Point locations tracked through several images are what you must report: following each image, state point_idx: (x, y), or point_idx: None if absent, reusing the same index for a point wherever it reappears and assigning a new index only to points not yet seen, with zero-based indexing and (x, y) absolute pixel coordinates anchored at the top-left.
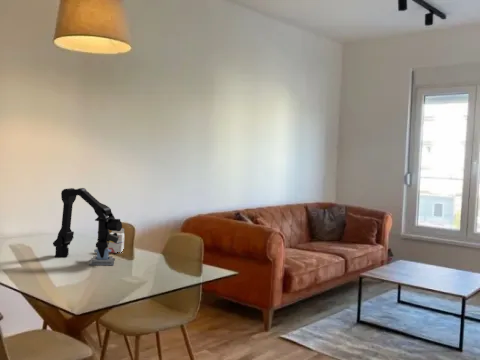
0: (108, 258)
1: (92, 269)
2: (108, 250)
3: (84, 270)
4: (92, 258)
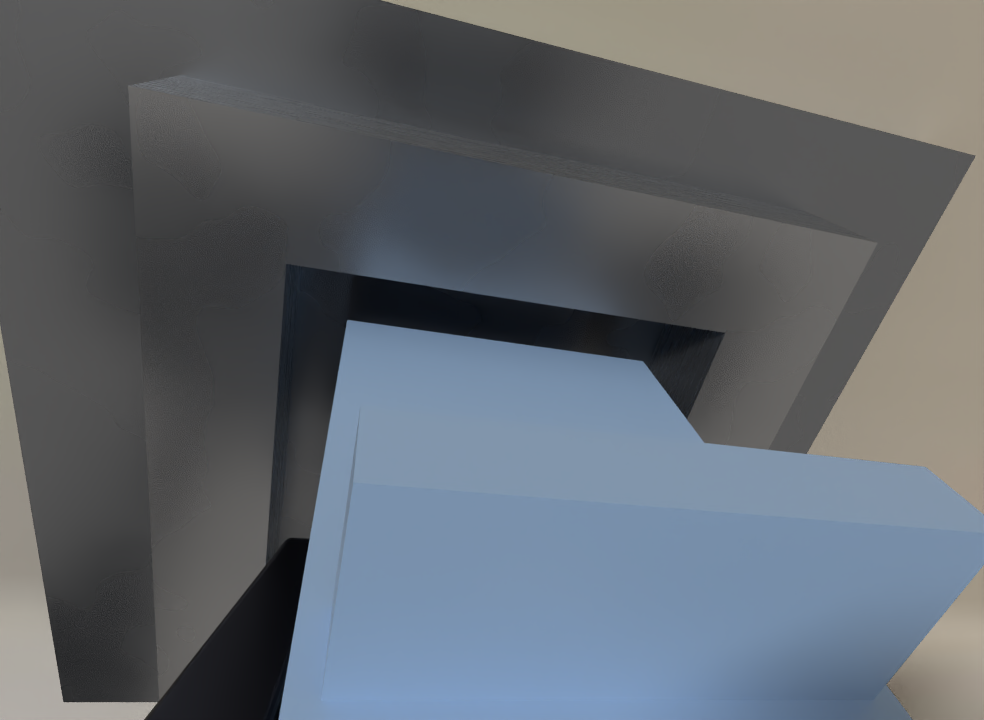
0: (294, 288)
1: (967, 603)
2: (716, 690)
3: (949, 691)
4: (150, 681)
